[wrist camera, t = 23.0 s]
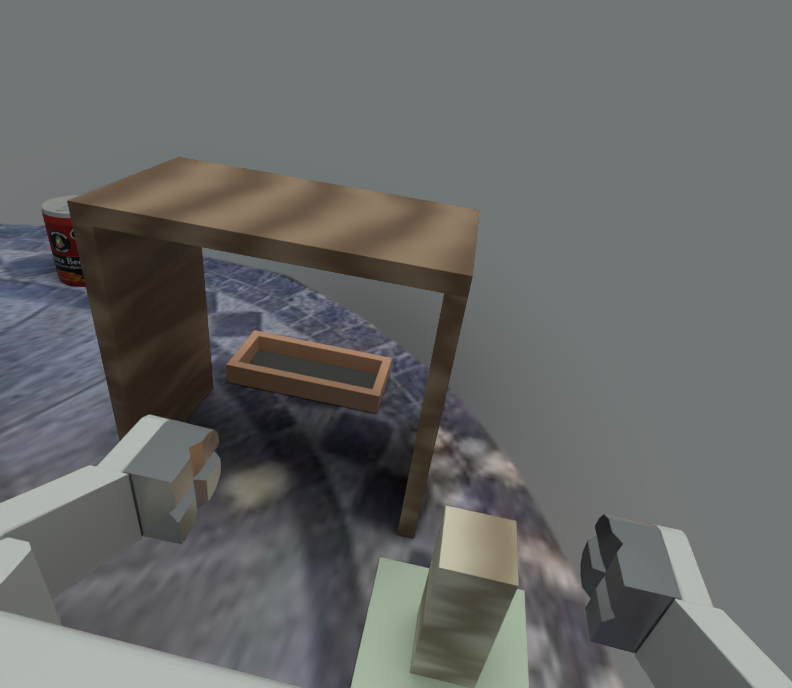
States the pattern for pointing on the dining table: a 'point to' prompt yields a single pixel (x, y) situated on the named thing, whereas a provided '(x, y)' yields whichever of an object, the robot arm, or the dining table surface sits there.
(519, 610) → the sage pad
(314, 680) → the dining table surface
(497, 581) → the ash block
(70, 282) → the canned food
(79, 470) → the robot arm
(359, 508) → the dining table surface
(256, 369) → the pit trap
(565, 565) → the dining table surface
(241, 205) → the walnut tunnel
